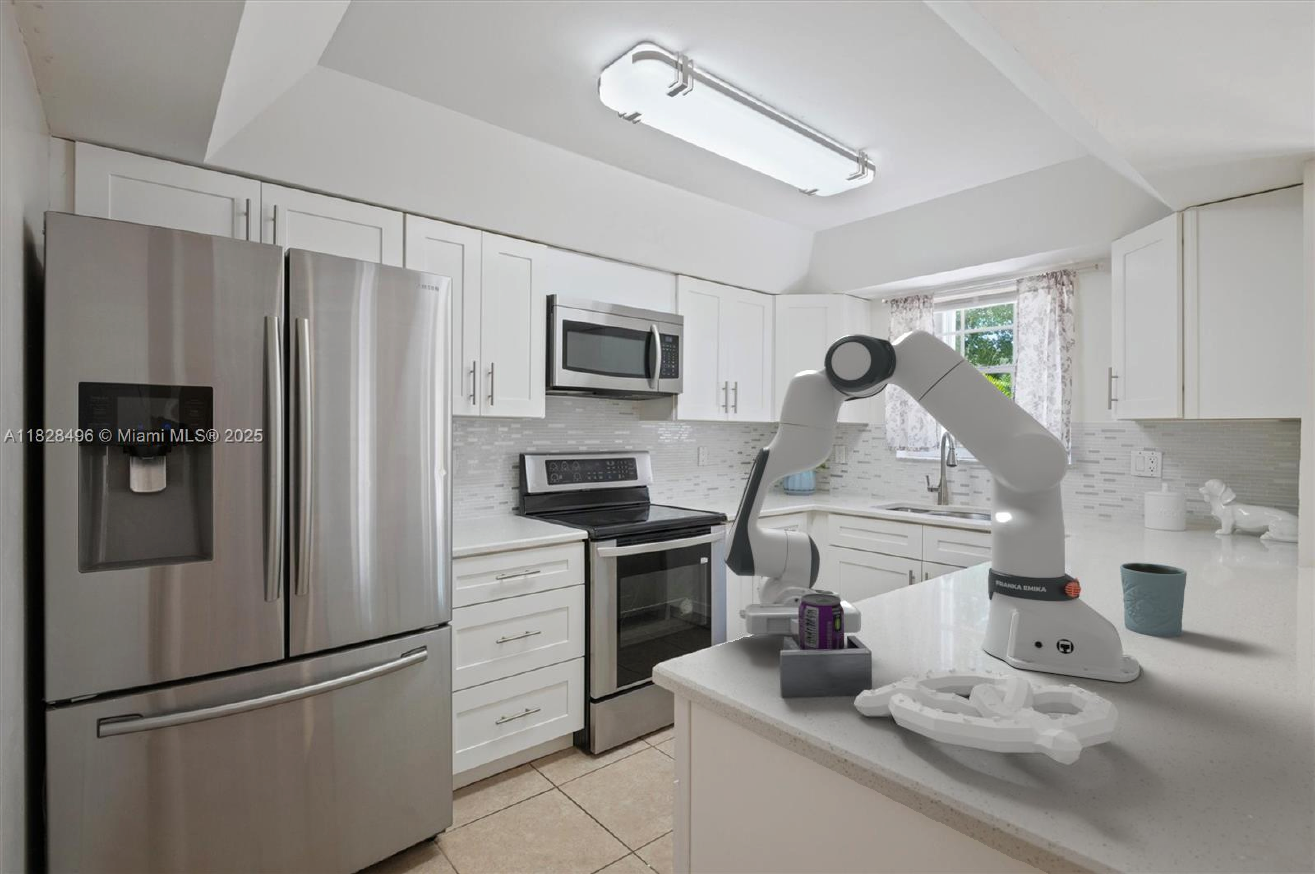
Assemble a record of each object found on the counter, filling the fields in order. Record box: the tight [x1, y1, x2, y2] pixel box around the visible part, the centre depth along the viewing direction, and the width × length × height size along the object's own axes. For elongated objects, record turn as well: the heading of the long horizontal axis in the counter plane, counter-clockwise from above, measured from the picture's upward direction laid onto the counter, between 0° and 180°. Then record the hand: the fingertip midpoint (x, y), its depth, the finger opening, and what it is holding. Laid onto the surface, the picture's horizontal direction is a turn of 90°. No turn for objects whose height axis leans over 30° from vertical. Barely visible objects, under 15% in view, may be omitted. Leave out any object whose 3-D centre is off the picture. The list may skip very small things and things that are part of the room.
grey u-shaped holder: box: [779, 635, 873, 698], centre depth 97 cm, size 9×14×7 cm, turn 92°
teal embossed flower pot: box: [1119, 562, 1188, 638], centre depth 121 cm, size 10×10×12 cm
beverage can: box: [798, 594, 845, 650], centre depth 102 cm, size 7×7×12 cm
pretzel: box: [853, 667, 1120, 766], centre depth 81 cm, size 28×24×6 cm
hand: (812, 632), depth 105 cm, fingers closed
